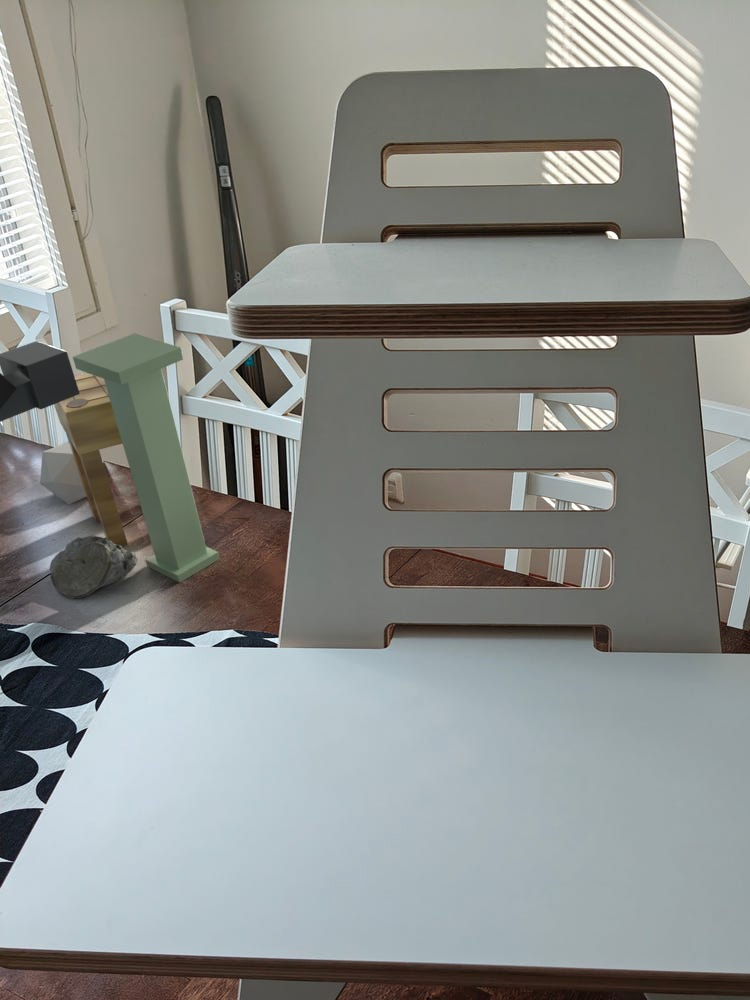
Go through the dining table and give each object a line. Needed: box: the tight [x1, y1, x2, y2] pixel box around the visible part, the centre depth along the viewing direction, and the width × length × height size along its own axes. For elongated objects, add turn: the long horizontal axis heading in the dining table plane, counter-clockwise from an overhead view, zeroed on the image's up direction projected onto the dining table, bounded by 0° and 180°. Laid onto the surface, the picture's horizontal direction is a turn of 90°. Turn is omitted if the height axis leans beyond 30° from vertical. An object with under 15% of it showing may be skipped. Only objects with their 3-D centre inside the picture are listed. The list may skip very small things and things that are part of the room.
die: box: [39, 441, 104, 506], centre depth 149 cm, size 8×9×10 cm
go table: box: [53, 372, 129, 547], centre depth 138 cm, size 12×12×21 cm
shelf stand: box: [72, 333, 220, 584], centre depth 126 cm, size 9×9×30 cm
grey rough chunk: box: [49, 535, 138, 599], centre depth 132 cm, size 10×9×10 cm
